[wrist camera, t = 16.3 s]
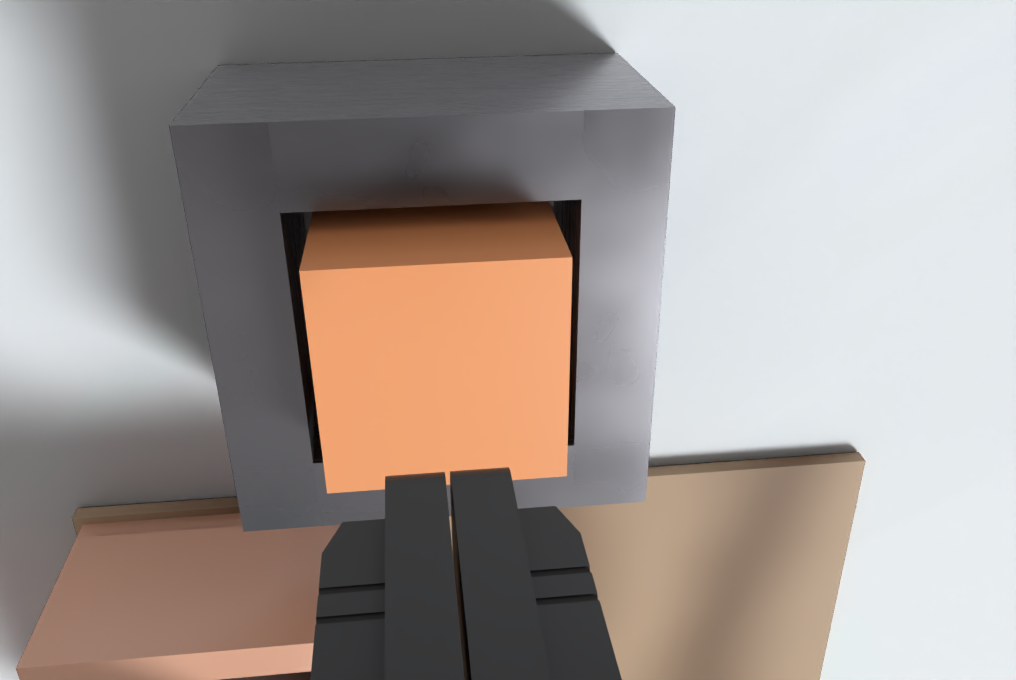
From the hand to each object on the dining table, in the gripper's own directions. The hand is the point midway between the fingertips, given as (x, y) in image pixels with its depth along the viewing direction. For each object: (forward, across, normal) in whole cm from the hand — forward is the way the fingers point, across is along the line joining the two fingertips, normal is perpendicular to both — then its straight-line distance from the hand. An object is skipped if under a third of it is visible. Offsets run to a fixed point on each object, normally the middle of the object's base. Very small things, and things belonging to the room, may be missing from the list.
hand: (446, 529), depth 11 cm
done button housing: (+10, 0, 0) cm, 10 cm away
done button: (+7, 0, 0) cm, 7 cm away
